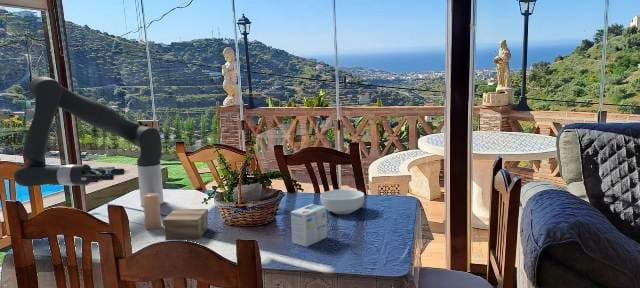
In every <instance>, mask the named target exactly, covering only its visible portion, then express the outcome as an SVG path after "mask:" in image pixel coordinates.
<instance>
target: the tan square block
mask: <svg viewBox="0 0 640 288" xmlns="http://www.w3.org/2000/svg"><path fill="white" fill-rule="evenodd" d="M208 215H209V209H208V208H186V209H181V208H180V209H173V210H172V211H171V212H170V213H169V214H168V215H166V216H165V217H164V218H163V219H162V226H163V227H164V236H165V237H164V239H165V240H167V241H168V240H169V241H170V240H171V241H174V240H173V239H179V240H180V241H181V240H183V241H184V240H200V239H201V237H202V236H203V235H204V233H206V231H207V230H208V229H209V224H208V223H209V222H208V220H209V219H208Z"/></svg>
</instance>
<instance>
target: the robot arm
mask: <svg viewBox="0 0 640 288" xmlns="http://www.w3.org/2000/svg"><path fill="white" fill-rule="evenodd" d="M28 90H29V93H30V96H31V97H32V98H33V99H35V101H34V102H35V106H34V113H33V117H32V121H31V122H30V125H29V128H28V130H27V133H26V135H25V139H24V144H23V149H22V157H23V158H24V159H26V160H27V165H25V166H21V167H20V168H18V169H17V170H16V171H15V172H14V173H13V179H14V181H15V183H16V184H17V185H19V186H22V187H37V186H38V187H39V186H45V185H46V186H48V185H49V186H88V185H89V184H91V183H99V182H103V181H113V180H115V176H124V175H125V172H126V170H125V169H124V168H115V166H111V167H110V166H106V167H105V166H102V167H101V166H100V167H97V168H96V167H95V168H93V169H92V167H91V166H90V165H89V164H86V163H84V164H83V163H79V164H64V165H60V164H59V165H47V164H46V163H47V162H46V153H47V149H48V143H49V137H50V132H51V129H52V128H51V127H52V124H53V121H54V118H55V114H56V113H57V112H56V111H57V109H58V108H60V109H62V110H64V111H66V113H67V112H68V113H69V114H71V115H73V116H74V117H76V118H77V119H79V120H81V121H82V122H84V123H86V124H88V125H90V126H93V127H95V128H97V129H99V130H101V131H104V132H107V133H110V134H113V135H116V136H119V137H121V138H123V139H124V140H126V141H127V142H129V143H131V144H133V146H136V147H137V148H140V149H139V151H140V152H139V153H140V156H139V157H138V158H137V160H136V163H137V165H136V166H137V176H138V177H137V178H138V186H139V198H140V206H141V207H144V205H143V195H145V194H148V193H158V194H159V202H160V206H161V205H163V204H164V203H165V202H164V201H165V200H164V189H163V178H162V177H163V176H162V166H161V160H162V155H163V154H162V151H163V150H162V137H161V134H160V132H159V130H158V129H156V128H155V127H152V126H145V125H140V124H138V123H135V122H133V121H130V120H128V119H126V118H125V117H124V116H123V115H121V114H120V113H118V111H116V110H114V109H113V108H112V107H109V106H107V105H106V104H103V103H102V102H99V101H97V100H94V99H92V98H90V97H87V96H84V95H81V94H78V93H75V92H73V91H72V90H69V89H67V88H66V87H64V86H63V85H61V84H60V82H58V81H57V80H56V79H54V78H51V77H49V76H39V77H35V78H33V79H32V80H31V81H30V82H29V84H28ZM46 165H47V166H46Z"/></svg>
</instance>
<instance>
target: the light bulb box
mask: <svg viewBox="0 0 640 288" xmlns="http://www.w3.org/2000/svg"><path fill="white" fill-rule="evenodd" d="M327 219H328V218H327V209H326V207H325V206H323V205H321V204H320V205H319V204H314V203H309V204H307V205H305V206H302V207H300V208H298V209H295V210H292V211H290V221H291V222H290V224H291V240H292V241H291V243H292V244H296V245H299V246H303V247H305V248H307V247H309V246H311V245H314V244H316V243H318V242H321V241H322V240H324V239H327V237H328V230H327V229H328V225H327V223H328V222H327Z"/></svg>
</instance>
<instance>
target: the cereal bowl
mask: <svg viewBox="0 0 640 288" xmlns="http://www.w3.org/2000/svg"><path fill="white" fill-rule="evenodd" d="M319 197H320V202H321V206H325V207H326V211H329V212H332V213H334V214H335V215H350V214H351V213H354V212H355V211H357V210H359V209H360V208H361V207H362V206H363V205H364V203H365V192H362V191H360V190H356V189H347V188H345V189H344V188H343V189H341V188H339V189H331V190H327V191H324V192H322V193H321V194H320V196H319Z"/></svg>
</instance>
